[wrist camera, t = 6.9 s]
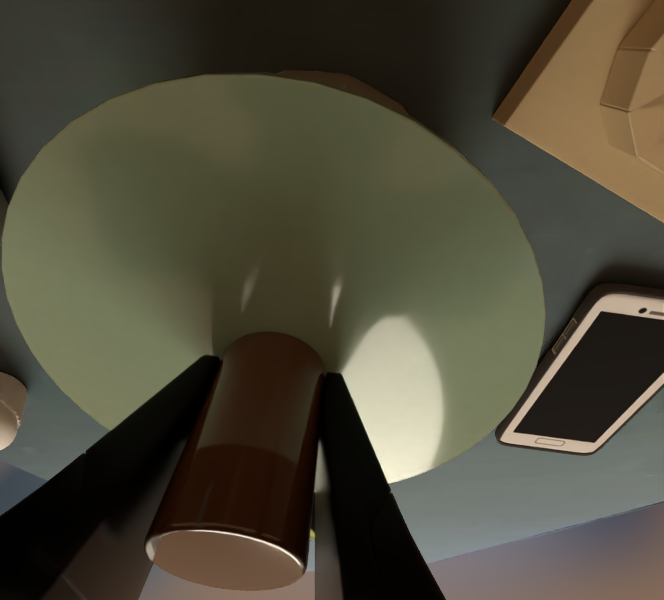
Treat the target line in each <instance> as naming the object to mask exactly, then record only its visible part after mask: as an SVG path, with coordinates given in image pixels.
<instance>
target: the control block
mask: <svg viewBox="0 0 664 600" xmlns="http://www.w3.org/2000/svg"><path fill="white" fill-rule="evenodd" d="M492 119H493V120H495V121H496V122H498V123H500V124H501V125H503V126H505V127H506V128H508V129H510V130H511V131H513V132H514V133H516V134H518V135H519V136H521V137H523V138H524V139H526V140H528V141H529V142H531V143H533V144H534V145H536V146H538V147H539V148H541V149H543V150H544V151H546V152H548V153H549V154H551V155H552V156H554V157H556V158H557V159H559V160H561V161H562V162H564V163H566V164H567V165H569V166H571V167H572V168H574V169H576V170H577V171H579V172H581V173H582V174H584V175H585V176H587V177H589V178H590V179H592V180H594V181H595V182H597V183H599V184H600V185H602V186H604V187H605V188H607V189H609V190H610V191H612V192H614V193H615V194H617V195H619V196H620V197H622V198H623V199H625V200H627V201H628V202H630V203H632V204H633V205H635V206H637V207H638V208H640V209H642V210H643V211H645V212H647V213H648V214H650V215H652V216H653V217H655V218H657V219H658V220H660V221H661V222H663V223H664V0H572V1H571V2H570V4H569V5H568V7H567V8H566V9H565V11H564V12H563V14H562V15H561V17H560V18H559V20H558V21H557V23H556V24H555V26H554V27H553V29H552V30H551V31H550V33H549V34H548V36H547V37H546V39H545V40H544V42H543V43H542V45H541V46H540V48H539V49H538V51H537V52H536V53H535V55H534V56H533V58H532V59H531V61H530V62H529V64H528V65H527V67H526V68H525V70H524V71H523V73H522V74H521V75H520V77H519V78H518V80H517V81H516V83H515V84H514V86H513V87H512V89H511V90H510V92H509V93H508V95H507V96H506V97H505V99H504V100H503V102H502V103H501V105H500V106H499V108H498V109H497V111H496V112H495V114H494V115H493V117H492Z"/></svg>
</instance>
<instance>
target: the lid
mask: <svg viewBox="0 0 664 600" xmlns="http://www.w3.org/2000/svg"><path fill="white" fill-rule="evenodd" d="M1 252H2V274H3V279H4V284H5V290H6V295H7V299H8V302H9V304H10V307H11V310H12V313H13V316H14V318H15V321H16V324H17V326H18V328H19V330H20V331H21V333H22V335H23V337H24V339H25V341H26V343H27V345H28V347H29V348H30V350H31V351H32V353H33V354H34V356H35V357H36V359H37V360H38V362H39V363H40V364H41V366H42V367H43V369H44V370H45V371H46V373H47V374H48V375H49V376H50V377H51V378H52V379H53V381H54V382H55V383H56V384H57V385H58V386H59V388H60V389H61V390H62V391H63V392H64V393H65V394H66V395H67V396H68V397H69V398H71V399H72V400H73V401H74V402H75V403H76V404H77V405H78V406H79V407H80V408H81V409H82V410H84V411H85V412H86V413H87V414H89V415H90V416H91V417H92V418H94V419H95V420H96V421H97V422H99V423H100V424H101V425H103V426H104V427H106V428H107V429H109V430H110V431H111V430H112V429H113V428H115V427H116V426H117V425H118V424H119V423H121V422H122V421H123V420H124V419H126V418H127V417H128V416H129V415H130V414H132V413H133V412H134V411H135V410H136V409H138V408H139V407H140V406H141V405H143V404H144V403H145V402H146V401H147V400H149V399H150V398H151V397H152V396H154V395H155V394H156V393H157V392H158V391H160V390H161V389H162V388H163V387H165V386H166V385H167V384H168V383H169V382H171V381H172V380H173V379H174V378H176V377H177V376H178V375H179V374H180V373H182V372H183V371H184V370H185V369H187V368H188V367H189V366H190V365H191V364H193V363H194V362H195V361H196V360H198V359H199V358H200V357H201V356H203V355H213V356H218V357H219V358H220V363H219V366H218V368H217V370H216V373H215V375H214V377H213V380H212V382H211V384H210V387H209V389H208V392H207V394H206V396H205V399H204V401H203V403H202V406H201V408H200V410H199V413H198V415H197V417H196V420H195V422H194V424H193V427H192V429H191V431H190V434H189V436H188V438H187V441H186V443H185V445H184V448H183V450H182V452H181V455H180V457H179V459H178V462H177V464H176V466H175V469H174V471H173V473H172V476H171V478H170V480H169V483H168V485H167V487H166V490H165V492H164V495H163V497H162V499H161V502H160V504H159V506H158V509H157V511H156V513H155V516H154V518H153V520H152V523H151V525H150V527H149V530H148V532H147V534H146V537H145V540H144V552H145V554H146V556H147V557H148V558H149V559H150V560H151V561H152V562H153V563H154V564H155V565H157V566H158V567H160V568H161V569H163V570H165V571H166V572H168V573H170V574H172V575H175V576H177V577H179V578H182V579H185V580H188V581H191V582H194V583H198V584H202V585H206V586H211V587H216V588H223V589H231V590H245V591H258V590H270V589H275V588H281V587H284V586H288V585H291V584H293V583H295V582H297V581H298V580H300V579H301V578H302V576H303V575H304V573H305V571H306V569H307V563H308V553H309V542H310V532H311V522H312V512H313V501H314V492H315V481H316V471H317V460H318V450H319V440H320V428H321V415H322V405H323V395H324V385H325V376H326V373H327V372H335V373H341V374H342V376H343V378H344V380H345V382H346V385H347V387H348V389H349V392H350V394H351V397H352V399H353V401H354V404H355V406H356V408H357V411H358V413H359V415H360V418H361V420H362V423H363V425H364V427H365V430H366V432H367V434H368V437H369V439H370V442H371V444H372V446H373V449H374V451H375V453H376V456H377V458H378V460H379V463H380V465H381V468H382V470H383V472H384V475H385V477H386V479H387V482H388V484H389V483H393V482H397V481H400V480H404V479H407V478H410V477H413V476H416V475H419V474H421V473H424V472H426V471H429V470H431V469H434V468H436V467H438V466H440V465H442V464H444V463H446V462H448V461H450V460H452V459H454V458H455V457H457V456H459V455H461V454H462V453H464V452H465V451H467V450H468V449H470V448H471V447H473V446H474V445H476V444H477V443H478V442H480V441H481V440H482V439H483V438H484V437H485V436H487V435H488V434H489V433H490V432H491V431H493V430H494V429H495V428H496V427H497V426H498V425H499V424H500V423H501V421H502V420H503V419H504V418H505V417H506V416H507V415H508V414H509V413H510V412H511V410H512V409H513V408H514V406H515V405H516V403H517V402H518V400H519V399H520V397H521V396H522V394H523V393H524V391H525V390H526V388H527V386H528V384H529V381H530V379H531V377H532V375H533V373H534V371H535V368H536V366H537V362H538V359H539V355H540V351H541V348H542V344H543V339H544V326H545V314H546V309H545V300H544V291H543V281H542V277H541V274H540V271H539V268H538V264H537V261H536V258H535V254H534V251H533V248H532V246H531V244H530V242H529V240H528V238H527V236H526V234H525V232H524V230H523V228H522V227H521V225H520V223H519V221H518V219H517V217H516V215H515V213H514V212H513V211H512V209H511V208H510V207H509V206H508V204H507V203H506V202H505V200H504V199H503V198H502V196H501V195H500V194H499V192H498V191H497V190H496V188H495V187H494V186H493V185H492V183H491V182H490V181H489V180H488V178H487V177H486V176H485V175H484V174H483V173H482V172H481V171H480V170H479V169H478V168H476V167H475V166H474V165H473V164H472V163H471V162H470V161H469V160H468V159H467V158H466V157H465V156H464V155H463V154H462V153H460V152H459V151H458V150H457V149H456V148H455V147H454V146H453V145H452V144H451V143H449V142H448V141H446V140H445V139H443V138H442V137H440V136H439V135H438V134H436V133H435V132H433V131H432V130H430V129H429V128H427V127H426V126H424V125H423V124H421V123H420V122H418V121H417V120H415V119H414V118H413V117H411V116H409V115H407V114H404V113H402V112H400V111H398V110H396V109H394V108H392V107H390V106H388V105H386V104H384V103H381V102H379V101H377V100H375V99H373V98H371V97H369V96H367V95H364V94H361V93H357V92H354V91H351V90H348V89H344V88H341V87H338V86H334V85H331V84H328V83H325V82H321V81H318V80H313V79H307V78H300V77H293V76H286V75H280V74H273V73H266V72H219V73H207V74H201V75H196V76H190V77H184V78H178V79H172V80H166V81H161V82H157V83H153V84H150V85H147V86H145V87H142V88H139V89H136V90H133V91H131V92H128V93H125V94H122V95H119V96H116V97H114V98H111V99H109V100H107V101H105V102H103V103H102V104H100V105H98V106H97V107H95V108H93V109H91V110H90V111H88V112H86V113H85V114H83V115H81V116H79V117H78V118H76V119H74V120H73V121H71V122H70V123H69V124H68V125H67V126H66V127H65V128H63V129H62V130H61V131H60V132H59V133H58V134H57V135H56V136H54V137H53V138H52V139H51V140H50V141H49V142H48V143H47V144H46V145H44V146H43V147H42V149H41V150H40V151H39V153H38V154H37V155H36V157H35V158H34V160H33V161H32V162H31V164H30V165H29V167H28V168H27V169H26V171H25V172H24V173H23V175H22V176H21V178H20V180H19V183H18V185H17V187H16V190H15V192H14V194H13V197H12V199H11V201H10V203H9V206H8V208H7V213H6V218H5V223H4V228H3V233H2V238H1Z"/></svg>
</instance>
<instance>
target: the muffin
mask: <svg viewBox="0 0 664 600" xmlns="http://www.w3.org/2000/svg"><path fill="white" fill-rule="evenodd" d="M26 390H27V389H26V388H25V386H24V385H23V384H22V382H20V381H19V380H17V379H16V378H15V377H12V376H11V375H8V374H5V373H3V372H0V450H2V449H4V448H5V447H7V446H8V445H10V444H11V443H12V441H13V440H14V438H15V436H16V434H17V429H18V428H19V426H20V425H21V422H22V416H23V411H24V407H25V402H26V397H27V391H26Z"/></svg>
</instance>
